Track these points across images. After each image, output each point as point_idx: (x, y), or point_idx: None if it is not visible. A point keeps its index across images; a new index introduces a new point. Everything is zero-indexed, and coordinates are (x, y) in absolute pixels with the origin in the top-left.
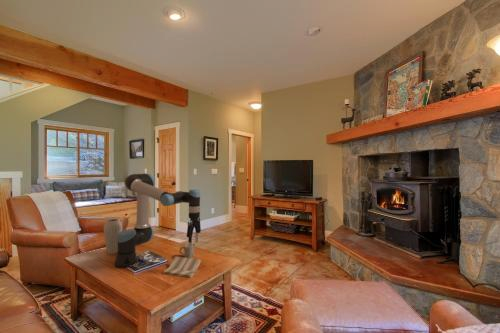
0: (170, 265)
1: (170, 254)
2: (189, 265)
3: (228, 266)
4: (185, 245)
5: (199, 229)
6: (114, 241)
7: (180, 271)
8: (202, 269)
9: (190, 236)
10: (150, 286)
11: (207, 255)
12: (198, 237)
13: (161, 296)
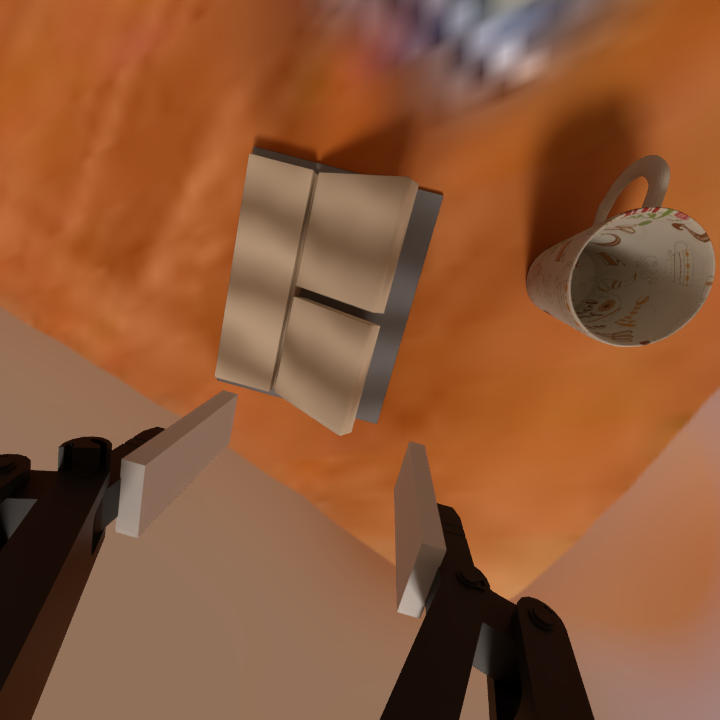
0: (333, 179)
1: (679, 53)
2: (313, 347)
3: None
4: (670, 220)
5: (492, 705)
6: None
7: (260, 292)
8: None
9: (2, 543)
10: (92, 142)
11: (606, 418)
12: (396, 542)
13: (17, 261)
